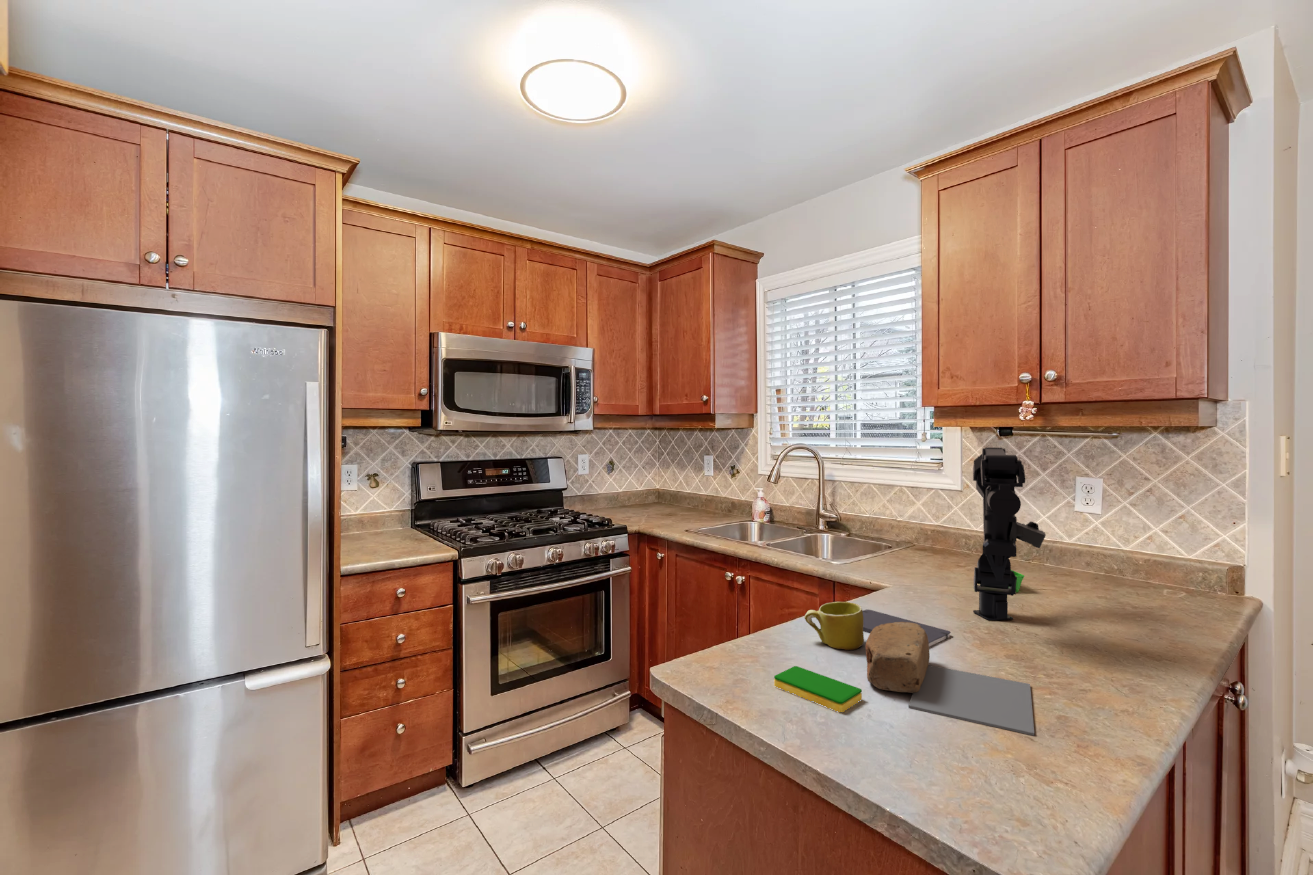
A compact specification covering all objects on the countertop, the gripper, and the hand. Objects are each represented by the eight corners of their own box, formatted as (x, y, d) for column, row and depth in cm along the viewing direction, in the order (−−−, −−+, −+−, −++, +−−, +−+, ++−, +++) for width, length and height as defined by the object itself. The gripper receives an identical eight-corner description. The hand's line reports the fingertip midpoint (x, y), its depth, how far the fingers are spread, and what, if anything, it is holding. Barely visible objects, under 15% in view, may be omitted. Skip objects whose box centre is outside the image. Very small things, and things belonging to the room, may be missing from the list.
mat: (923, 665, 118) (923, 663, 118) (1029, 685, 109) (1030, 683, 109) (908, 707, 101) (908, 705, 101) (1034, 735, 92) (1034, 733, 92)
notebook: (837, 625, 143) (924, 652, 126) (837, 619, 143) (924, 644, 126) (867, 614, 151) (952, 638, 134) (867, 608, 151) (952, 631, 134)
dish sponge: (841, 716, 99) (841, 701, 99) (773, 688, 109) (773, 675, 109) (862, 702, 104) (862, 688, 104) (795, 677, 114) (795, 664, 114)
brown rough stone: (930, 623, 120) (921, 657, 102) (931, 659, 120) (923, 701, 102) (873, 617, 125) (856, 649, 108) (875, 652, 125) (857, 690, 108)
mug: (869, 628, 134) (860, 590, 131) (870, 658, 125) (860, 618, 122) (815, 631, 139) (805, 595, 136) (811, 661, 129) (800, 622, 127)
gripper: (1045, 519, 120) (1044, 595, 121) (1041, 508, 136) (1040, 575, 137) (982, 515, 126) (982, 588, 126) (985, 504, 142) (985, 569, 142)
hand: (999, 580), depth 133 cm, fingers closed
